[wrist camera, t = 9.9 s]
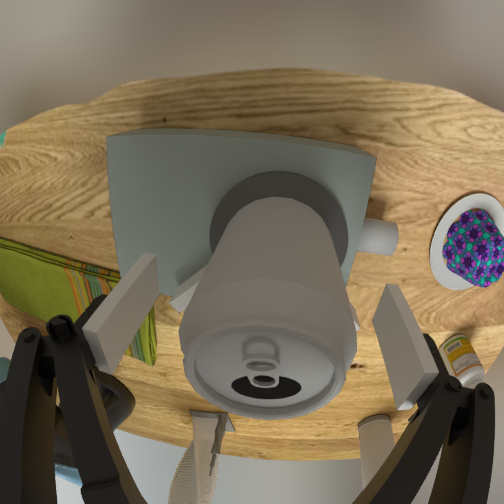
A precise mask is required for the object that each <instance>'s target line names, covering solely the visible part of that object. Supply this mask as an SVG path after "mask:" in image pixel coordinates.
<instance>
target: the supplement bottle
mask: <svg viewBox="0 0 504 504" xmlns="http://www.w3.org/2000/svg"><path fill="white" fill-rule="evenodd" d="M439 352H440V355H441V357H442V359H443V361H444V364H445V366H446V368H447V371H448V373H449V375H451V376H454V377H456V378H457V379H458V380H459V381H460V382H461V384H462V386H463V387H466V388H471V389H474V388H475V387H476V385H477V384H478V383H481V382H482V383H484V381H483V378H484V375H485V371H484V369H483V367H482V365H481V363H480V361H479V359H478V357H477V355H476V353H475V351H474V349H473V347H472V345H471V343H470V341H469V340H468V338H467V337H466V336H465V335H456V336H454V337H451V338H450V339H448V340H447V341H446V342H445V343H444V344H443V345H442V346H441V347H440V349H439Z"/></svg>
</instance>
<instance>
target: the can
mask: <svg viewBox="0 0 504 504" xmlns="http://www.w3.org/2000/svg"><path fill="white" fill-rule="evenodd" d="M179 338H180V344H181V350H182V352H183V354H184V359H183V364H184V370H185V376H186V377H187V379H188V380H189V382H190V384H191V385H192V387H193V388H194V390H195V391H196V392H197V393H199V394H200V395H201V396H202V397H203V398H205V399H206V400H207V401H208V402H209V403H211V404H213V405H215V406H217V407H219V408H221V409H223V410H225V411H227V412H230V413H233V414H236V415H240V416H243V417H247V418H255V419H263V420H277V419H290V418H294V417H298V416H302V415H306V414H309V413H311V412H313V411H315V410H317V409H319V408H321V407H323V406H325V405H327V404H328V403H329V402H330V401H331V400H332V399H333V398H334V397H335V396H337V395H338V394H339V392H340V390H341V388H342V386H343V384H344V382H345V380H346V371H347V370H348V369H349V368H350V366H351V363H352V361H353V359H354V357H355V354H356V352H357V337H356V328H355V323H354V319H353V315H352V311H351V307H350V303H349V299H348V295H347V291H346V287H345V283H344V280H343V276H342V272H341V269H340V265H339V262H338V258H337V255H336V251H335V248H334V244H333V241H332V238H331V234H330V232H329V230H328V228H327V226H326V224H325V222H324V221H323V219H322V217H321V216H319V215H318V214H317V213H316V212H315V211H314V210H313V209H312V208H311V207H309V206H308V205H306V204H303V203H301V202H299V201H297V200H294V199H292V198H282V197H269V198H264V199H260V200H255V201H253V202H252V203H250V204H248V205H247V206H245V207H243V208H241V209H240V210H239V211H238V212H237V213H236V215H235V216H234V217H233V218H232V219H231V220H230V222H229V223H228V225H227V227H226V229H225V231H224V233H223V235H222V237H221V239H220V241H219V243H218V245H217V247H216V249H215V251H214V253H213V255H212V257H211V259H210V261H209V263H208V265H207V267H206V269H205V271H204V273H203V275H202V277H201V279H200V281H199V283H198V285H197V287H196V289H195V292H194V294H193V296H192V298H191V300H190V302H189V304H188V306H187V308H186V310H185V312H184V315H183V319H182V322H181V325H180V328H179Z"/></svg>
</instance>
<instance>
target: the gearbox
mask: <svg viewBox="0 0 504 504" xmlns="http://www.w3.org/2000/svg"><path fill="white" fill-rule="evenodd" d="M376 160H377V158H376V157H374V156H373V155H371V154H369V153H367V152H366V151H364V150H362V149H360V148H358V147H355V146H350V145H344V144H339V143H333V142H328V141H321V140H315V139H308V138H301V137H294V136H286V135H278V134H269V133H259V132H247V131H234V130H217V129H187V128H153V129H138V130H133V131H128V132H123V133H119V134H115V135H110V136H107V166H108V183H109V195H110V206H111V216H112V224H113V232H114V240H115V247H116V253H117V259H118V265H119V271H120V277H121V279H122V278H123V277H124V275H125V274H126V273H127V272H128V271H129V270H130V268H131V267H132V266H133V265H134V264H135V263H136V262H137V260H138V259H139V258H140V257H141V256H142V255H143V254H144V253H147V254H154V255H156V262H157V272H158V282H159V291H160V294H163V295H168V296H173V297H172V299H171V301H170V302H169V304H170V305H171V306H172V307H173V308H174V309H175V310H177V311H178V312H179V313H181V312H182V311H184V310H185V309H186V308H187V306H188V304H189V302H190V300H191V298H192V296H193V294H194V292H195V289H196V287H197V285H198V283H199V281H200V279H201V277H202V275H203V273H204V271H205V269H206V267H207V265H208V263H209V261H210V259H211V257H212V255H213V253H214V251H215V249H216V247H217V245H218V243H219V241H220V239H221V237H222V235H223V233H224V231H225V229H226V227H227V225H228V223H229V222H230V220H231V219H232V218H233V217H234V216H235V215H236V213H237V212H238V211H239V210H240V209H241V208H243V207H245V206H247V205H248V204H250V203H252V202H253V201H255V200H260V199H264V198H269V197H282V198H292V199H294V200H297V201H299V202H301V203H303V204H306V205H308V206H309V207H311V208H312V209H313V210H314V211H315V212H316V213H317V214H318V215H319V216H321V217H322V219H323V221H324V222H325V224H326V226H327V228H328V230H329V232H330V234H331V238H332V241H333V244H334V248H335V251H336V255H337V258H338V262H339V265H340V269H341V272H342V276H343V280H344V283H345V287H346V285H347V282H348V278H349V275H350V271H351V268H352V264H353V261H354V257H355V253H356V251H359V252H366V253H373V254H380V255H387V256H391V255H392V254H393V253H394V252H395V249H396V247H397V243H398V227H397V225H396V223H395V222H390V221H384V220H379V219H373V218H367V217H365V214H366V209H367V205H368V200H369V196H370V191H371V186H372V181H373V176H374V171H375V165H376ZM349 303H350V301H349ZM350 307H351V311H352V315H353V319H354V323H355V328H356V331H357V330H359V329H360V325H359V321H358V317H357V313H356V310H355V308H354V307H353V305H352V304H351V303H350Z"/></svg>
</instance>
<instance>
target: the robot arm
mask: <svg viewBox="0 0 504 504" xmlns="http://www.w3.org/2000/svg"><path fill="white" fill-rule="evenodd" d="M159 295H160V291H159V282H158V272H157V262H156V255H154V254H147V253H144V254H143V255H142V256H141V257H140V258H139V259H138V260H137V262H136V263H135V264H134V265H133V266H132V267H131V268H130V270H129V271H128V272H127V273H126V274H125V275H124V277H123V278H122V279H121V280H120V281H119V283H118V284H117V285H116V286H115V287H114V289H113V290H112V291H111V292H110V293H109V295H105V294H101V295H100V296H98V297H96V298H95V299H94V300H93V301H92V302H91V303H90V305H89V306H88V307H87V308H86V309H85V312H83V313H82V314H81V315H80V317H79V318H78V319H77V320H76V322H75V323H74V324H73V321H72V319H71V317H70V316H68V315H64V314H62V315H57V316H54V317H53V318H51V319H50V320H49V321H48V323H47V325H46V328H47V331H48V333H49V335H50V336H41V333H40V331H39V330H38V329H37V328H35V327H30V328H26V329H24V330H23V331H22V332H21V333H20V334H19V336H18V339H17V342H16V345H15V349H14V352H13V355H12V359H11V361H10V360H9V359H8V358H6V357H0V504H57V494H56V482H55V475H57V476H59V477H61V478H63V479H65V480H67V481H70V482H72V483H74V484H77V485H79V486H82V488H81V495H82V498H83V500H84V503H85V504H147V502H146V501H145V500H144V498H143V497H142V495H141V493H140V492H139V490H138V488H137V486H136V484H135V482H134V480H133V478H132V476H131V473H130V472H129V469H128V467H127V465H126V463H125V460H124V458H123V456H122V453H121V451H120V449H119V446H118V444H117V441H116V439H115V436H114V433H113V432H114V430H115V429H116V428H117V427H118V426H119V425H120V424H121V423H122V422H123V421H124V420H126V419H127V418H128V417H129V416H130V415H131V413H132V411H133V409H134V407H135V399H134V397H133V396H132V394H131V393H130V392H129V390H128V389H127V388H126V387H125V386H124V385H122V384H121V383H120V382H119V381H118V380H116V379H115V378H114V377H112V376H111V375H113V373H114V371H115V370H116V368H117V366H118V364H119V362H120V361H121V359H122V357H123V355H124V354H125V352H126V350H127V348H128V347H129V345H130V343H131V341H132V340H133V338H134V336H135V335H136V333H137V331H138V329H139V328H140V326H141V324H142V323H143V321H144V319H145V318H146V316H147V314H148V313H149V311H150V309H151V308H152V306H153V304H154V303H155V301H156V300H157V298H158V296H159ZM372 322H373V325H374V328H375V332H376V335H377V338H378V341H379V345H380V348H381V351H382V355H383V358H384V362H385V365H386V369H387V372H388V376H389V380H390V384H391V387H392V391H393V395H394V399H395V404H396V408H397V410H408V409H411V408H412V407H413V406H414V404H415V403H416V402H417V405H418V409H417V410H416V412H415V413H414V414H413V415H412V416H411V417H410V418H409V419H408V421H410V422H409V424H408V425H407V427H406V429H405V431H404V432H403V434H402V436H401V437H400V439H399V440H398V442H397V444H396V445H395V447H394V448H393V450H392V451H391V453H390V454H389V456H388V457H387V459H386V460H385V462H384V463H383V465H382V466H381V467H380V469H379V470H378V471H377V473H376V474H375V476H374V477H373V478H372V480H371V481H370V482H369V483H368V485H367V486H366V487H365V489H364V490H363V491H362V492H361V494H360V495H359V496H358V497H357V498H356V500H355V501H354V502H353V503H352V504H411V502H412V501H413V499H414V497H415V496H416V494H417V493H418V491H419V489H420V487H421V485H422V484H423V482H424V480H425V479H426V477H427V475H428V473H429V471H430V469H431V467H432V465H433V463H434V461H435V459H436V457H437V455H438V453H439V451H440V449H441V447H442V444H443V447H442V453H441V457H440V462H439V466H438V470H437V474H436V478H435V482H434V485H433V489H432V493H431V496H430V499H429V502H428V504H487V499H488V493H489V488H490V481H491V474H492V464H493V455H494V439H495V398H494V392H493V390H492V388H491V387H490V386H489V385H488V384H486V383H482V382H481V383H478V384H477V385H476V387H475V388H474V389H471V388H466V387H463V386H462V384H461V382H460V381H459V380H458V379H457V378H456V377H454V376H451V375H449V373H448V371H447V368H446V366H445V364H444V361H443V359H442V357H441V355H440V352H439V350H438V349H437V346H436V344H435V342H434V340H433V339H432V338H431V337H430V336H429V335H428V334H422V332H421V330H420V328H419V326H418V323H417V321H416V319H415V317H414V315H413V313H412V311H411V309H410V307H409V305H408V303H407V301H406V299H405V297H404V295H403V294H402V292H401V290H400V288H399V286H398V285H396V284H387V283H386V286H385V289H384V291H383V294H382V297H381V299H380V302H379V304H378V307H377V310H376V312H375V315H374V317H373V319H372ZM95 363H96V365H97V367H98V368H97V367H94V365H95ZM109 374H111V375H109ZM57 386H58V392H59V398H60V404H59V405H58V406H57V405H56V396H57Z"/></svg>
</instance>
